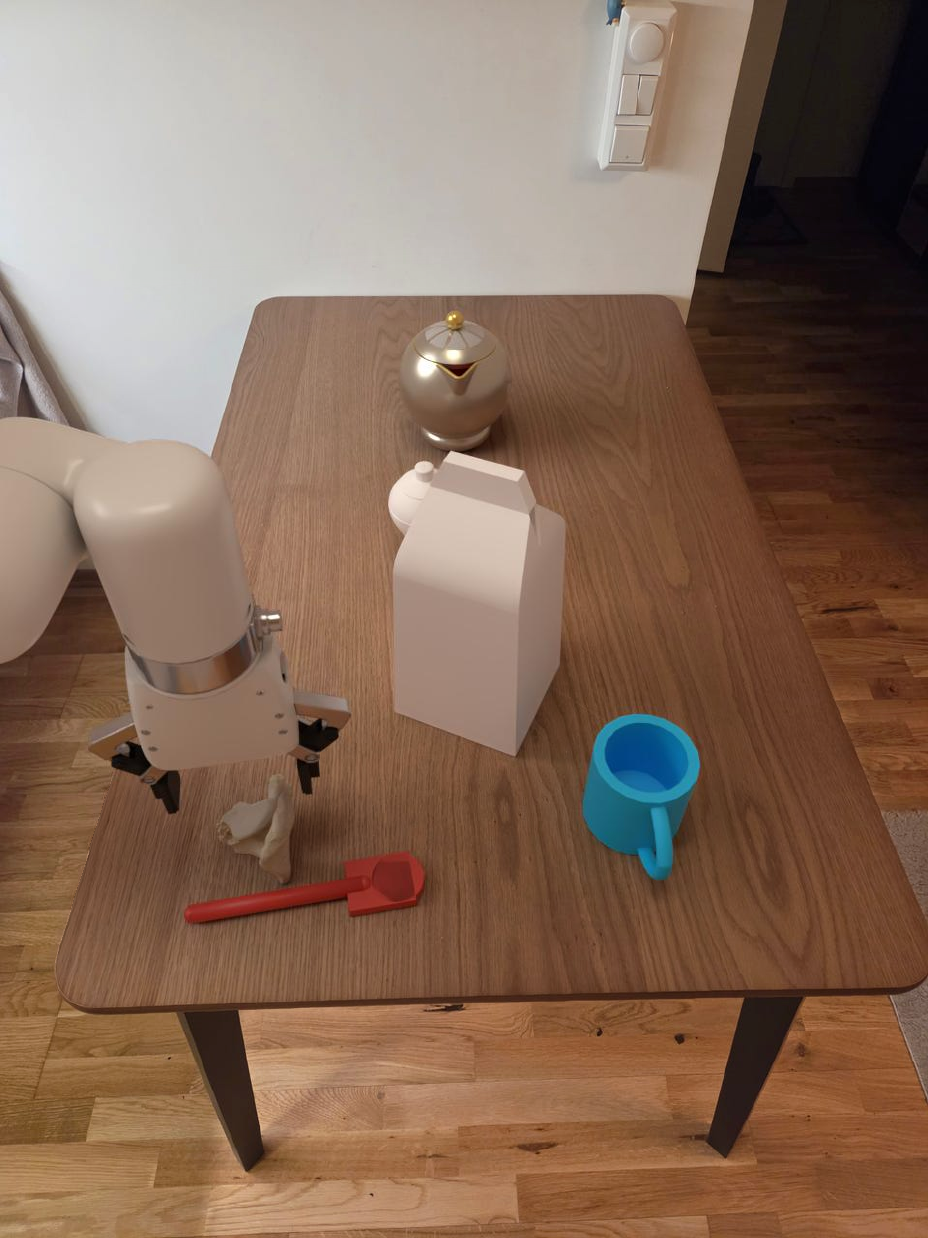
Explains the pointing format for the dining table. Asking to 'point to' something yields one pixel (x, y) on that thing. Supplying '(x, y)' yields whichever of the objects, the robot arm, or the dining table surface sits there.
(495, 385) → the teapot
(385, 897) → the red toy shovel
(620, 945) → the dining table surface
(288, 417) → the dining table surface
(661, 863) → the mug
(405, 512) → the spinning top
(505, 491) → the milk
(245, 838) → the bone
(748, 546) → the dining table surface
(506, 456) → the dining table surface
